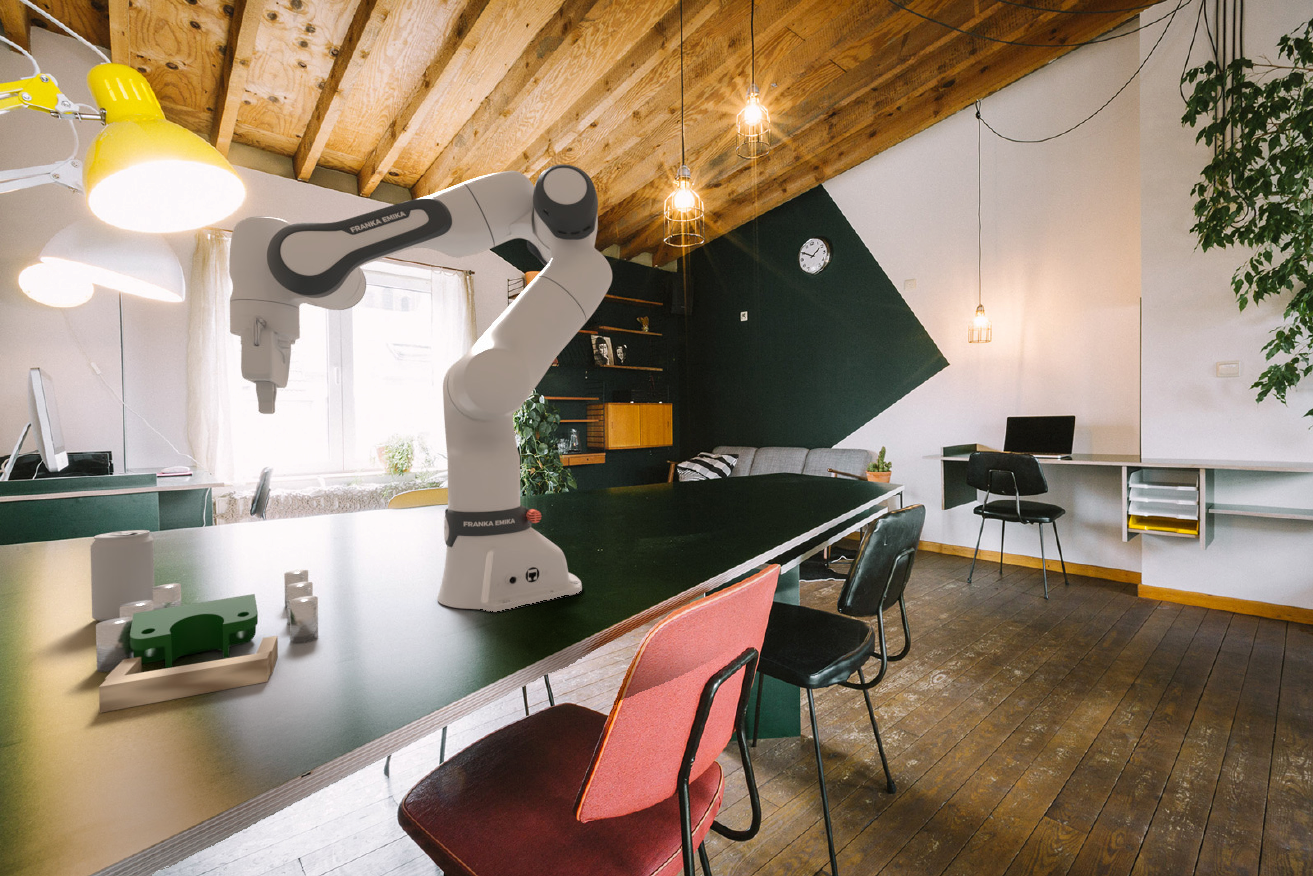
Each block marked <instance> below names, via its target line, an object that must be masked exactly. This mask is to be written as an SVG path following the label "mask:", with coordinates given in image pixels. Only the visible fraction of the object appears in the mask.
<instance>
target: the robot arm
mask: <svg viewBox="0 0 1313 876" xmlns="http://www.w3.org/2000/svg"><path fill="white" fill-rule="evenodd" d="M598 211H599V199H598V194H597V190H596V187H595V184H594V182H593V180H592V179H591V177H590V176H589V175H588V174H587V172H585V171H584V170H583V169H581V168H579V167H577V166H575V165H571V164H563V163H562V164H555V165H552V166H549V167H547V168H546V169H544V170H543V171H542V172H541V173H540V174H539V175H538V177H537V179H536V182H535V184H533V183H532V181H531V180H530V179H529V177H528V176H527V175H526V174H524V173H522V172H520V171H517V170H505V171H499V172H495V173H490V174H486V175H481V176H478V177H476V178H472V179H468V180H466V181H463V182H461V183H458V184H456V185H453V186H451V187H448V188H446V189H443V190H441V191H437V192H435V193H432V194H430V195H425V196H423V197H419V198H415V199H411V200H406V201H403V202H400V203H396V204H393V205H392V204H391V205H389V206H386V207H382V208H379V209H376V210H373V211H369V212H366V213H363V214H360V215H357V216H353V217H349V218H347V219H343V220H339V221H332V222H298V223H290V222H289V221H287V220H284V219H281V218H277V217H272V216H262V215H261V216H251V217H247V218H245V219H242V220H240V221H238V222H237V223H236V225H235V226H234V227H233V231H232V234H231V239H230V245H229V263H228V264H229V265H228V267H229V269H228V270H229V271H228V272H229V273H228V274H229V276H230V279H231V282H232V292H231V295H230V298H229V329H230V330H229V331H230V334H232V335H235V336H238V337H240V345H241V351H240V352H241V353H240V356H241V357H240V359H241V361H240V369H241V376H242V379H244V380H247V381H249V382H251V383H253V384H255V392H256V398H257V402H258V406H257V407H258V412H259V414H264V415H273V414H275V413H276V402H277V401H276V400H277V395H278V394H277V393H278V391H277V390H278V389H285V388H286V387H287V385H288V381H289V373H290V364H291V355H292V345H295V344H296V341H297V340H299V339H300V337H301V336H300V334H301V331H300V328H301V327H300V326H301V324H300V306H301V305H302V304H307V305H311V306H314V307H319V308H322V309H325V310H333V311H342V310H344V311H345V310H348V309H351V308H353V307H355V306H356V305H357V304H359V303H360V302H361V301H362V299H363V297H364V295H365V293H366V289H367V280H366V275H365V273H364V272H363V270H362V269H361V267H362V266H364V265H367V264H370V263H372V262H376V261H378V260H382V259H384V258H387V257H391V256H393V255H395V254H398V253H402V252H404V251H407V250H411V249H428V250H433V251H437V252H439V253H442V254H444V255H446V256H448V257H451V258H456V259H458V258H459V259H460V258H464V257H465V258H466V257H468V256H469V257H470V256H473V255H477V254H480V253H484V252H486V251H488V250H490V249H493V248H495V247H497V246H499V245H502V244H504V243H506V242H508V241H512V240H514V239H523V240H526V248H527V249H528V251H529V252H530V253H531V254H533V256H535V257H536V258H537V259H538V260H539V261H540V262H541V264H542V265H543V266H544V268H542V270H541V271H540V272H539V273H538V274H537V275H536V276H535V277H534V278H533V279H532V280H531V281H530V282H529V283H528V285H526V287H525V288H524V289H523V290H522V291H521V292H520V293H519V294H518V295H517V296H516V298H514V299H513V301H512V302H511V303H510V304H509V305H508V306H507V307H506V308H505V309H504V310H503V312H502V313H501V314H500V315H499V317H498V318H497V319H496V320H495V321H493V323H492V324H491V326H489V328H488V329H487V330H486V331H485V332H484V333H483V335H481V337H479V339H478V340H477V341H476V342H475V343H474V344H473V345H472V346H471V348H469V350H468V351H467V352H466V353H465V354H464V355H463V356H461V358H460V359H458V360H457V361H455V362H454V363H453V364H452V365H451V366H450V367H449V368H448V370H447V371H446V373H445V374H444V378H443V380H442V381H443V382H442V383H443V384H442V395H443V397H442V398H443V417H444V429H445V430H444V431H445V442H446V443H445V444H446V457H447V508H445V511H444V517H443V519H444V520H443V522H444V523H443V524H444V525H443V529H444V530H443V531H444V532H443V533H444V541H445V545H446V553H445V555H446V556H445V561H444V569H443V576H442V580H441V583H440V588H439V592H438V595H437V597H436V600H437V601H438V603H440V604H442V605H444V606H446V607H450V608H456V609H466V610H468V609H469V610H470V609H471V610H480V609H483V610H482V611H485V610H486V611H485V612H490V611H491V612H492V611H493V612H492V613H498V612H497V611H500V612H503V611H502V610H504V611H506V610H505V609H509V610H512V609H511V608H513V609H516V608H515V607H517V608H519V607H518V606H521V605H525V604H530V605H533V604H532V603H534V604H537V603H536V602H539V603H541V602H540V601H543V600H547V601H551V600H550V599H552V600H555V599H554V598H556V599H558V598H557V597H560V598H562V597H561V596H564V595H569V596H573V595H577V594H580V593H581V592H582V590H583V585H582V581H581V579H580V578H578V576H577V575H575V574H573V573H571V572H569V569H568V563H567V559H566V556H565V554H564V552H563V550H562V548H560V547H559V546H558V545H557V544H555V543H554V542H552V541H551V540H550V539H548V538H547V537H545V536H544V535H543V534H541V533H540V532H539V531H537V530H536V529H534V528H533V527H532V525H533V524H537V523H539V522H540V520H542V517H543V516H542V513H541V512H540V511H539V510H537V509H535V508H531V509H530V508H527V507H526V506H523V505H522V504H521V456H520V453H519V450H518V445H517V440H516V439H517V438H516V433H515V426H514V418H513V414H515V413H517V412H518V410H519V409H521V407H523V405H524V403H525V402H526V400H527V399H528V398H529V397H530V395H531V394H532V393H533V391H534V390H535V388H536V387H537V386H538V385H539V383H540V382H541V380H542V379H543V377H544V376H545V375H546V373H547V372H548V370H549V368H550V367H551V366H552V364H553V362H555V360H556V358H557V356H559V355H560V353H561V352H562V351H563V349H565V347H566V346H567V345H569V343H570V342H571V340H572V339H573V338H574V337H575V336H576V334H578V332H579V331H580V330H581V329H582V328H583V327H584V326H585V324H586V323H587V322H588V320H590V318H591V317H592V315H593V314H594V313H595V312H596V310H597V309H598V307H599V305H600V304H601V302H602V301H603V299H604V298H605V296H606V294H607V293H608V291H609V288H610V287H611V285H612V282H613V270H612V268H611V265H610V263H609V261H608V260H607V259H606V257H605V256H604V255H603V254H602V253H601V252H600V251H599V250H598V249H596V247H595V244H596V238H597V234H598V227H599V226H598V223H599V222H598V219H599V218H598V216H599V215H598ZM580 591H581V592H580ZM579 592H580V593H579ZM576 593H577V594H576ZM543 602H544V601H543ZM521 607H522V606H521Z"/></svg>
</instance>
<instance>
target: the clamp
mask: <svg viewBox="0 0 1313 876" xmlns="http://www.w3.org/2000/svg"><path fill="white" fill-rule="evenodd" d="M258 612H259V611H258V606H257V600H256V595H255V593H253V594H246V595H239V596H233V597H227V598H220V599H215V600H214V599H213V600H209V601H207V600H206V601H203V602H202V601H201V602H197V603H195V602H194V603H188V604H184V605H183V604H181V606H176V607H170V608H164V609H157V610H151V611H145V612H138V613H133V619H132V625H131V632H130V646H131V648H132V649H133V656H134V658H136V657H141V664H143V665H144V664H149V663H150V664H151V663H155V662H160V661H164V665H165V666H164V667H165V668H164V669H166V668H172V667H173V662H175V661H176V659H179V658H180V657H183V655H184V656H189V655H194V654H198V653H203V652H208V651H212V650H213V651H214V650H219V651H221V652H222V659H227V658H230V647H232V646H238V645H241V644H242V645H243V644H247V643H250V641H252V640H253V639H254V637H255V636H256V631H257V625H258V618H259V613H258ZM163 659H165V660H163Z"/></svg>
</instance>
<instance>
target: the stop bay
mask: <svg viewBox="0 0 1313 876" xmlns="http://www.w3.org/2000/svg"><path fill="white" fill-rule="evenodd" d="M278 638H279V637H278V635H273V636H268V637H267V636H266V637H263V638H262V639H261V641H260V644H259V645H258V648H257V651H256V653H252V654H246V655H240V656H233V657H228V658H222V659H216V660H210V661H204V662H197V663H191V664H185V665H180V666H174V667H173V666H172V668H166V669H165V668H161V669H155V670H154V669H153V670H149V671H144V672H143V671H142V663H141V657H136V658H130V659H124V660H123V661H122V662H121V663H120V664H119V665H118V666H117V667H116V668H115V669H114V670H113V671H110V672H109V674H108V675H107V676H105V678H104V681H103V682H102V683H101V684H100V685H99V686H98V695H99V696H98V698H99V701H98V702H99V703H98V705H99V714H101V713H107V712H111V711H118V710H122V709H123V710H124V709H129V708H132V707H133V708H134V707H139V706H144V705H151V704H154V703H155V704H156V703H161V702H165V701H170V700H176V699H182V698H187V697H193V696H197V695H203V694H207V693H208V694H209V693H213V692H218V691H225V690H230V689H236V688H239V687H245V686H250V685H256V684H261V683H266V682H268V681H269V678H270V676H271V675H272V674H273V672H274V669H275V666H276V664H277V660H278V655H279V652H278V651H279V650H278V649H279V647H278V641H279V639H278Z"/></svg>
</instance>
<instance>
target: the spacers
mask: <svg viewBox="0 0 1313 876" xmlns="http://www.w3.org/2000/svg"><path fill="white" fill-rule="evenodd" d="M283 575H284V608H285V609H286V612H287V613H286V614H287V615H286V619H287V620H286V621H287V622H286V623H287V624H288V623H289V642H290V643H291V644H303V643H307V642H308V643H309V642H311V641H314V640H316V639H317V638H319V618H318V617H319V608H318V607H319V605H318V604H319V603H318V602H319V600H318V599H319V598H318V596H315V595H313V593H314V592H313V591H314V589H313V585H314V584H313V582H312V581H309V570H308V569H297V570H290V571H286V572H285V573H284V574H283ZM176 606H182V584H181V583H166V584H161V585H157V586H154V587H153V588H152V601H150V600H145V601H136V602H131V603H127V604H124V605H121V606H120V618H116V619H111V620H107V621H103V622H100V621H99V622H98V623H96V625H95V634H96V635H95V636H96V637H95V640H96V641H95V642H96V671H97V672H101V673H102V672H103V673H104V672H105V673H106V672H112V671H113V670H114V669H115V668H116V667H117V666H118V665H119V664H120V663H121V662H122V661H123V660H124V659H130V658H134V656H133V649H132V648H131V646H130V632H131V625H132V619H133V613H138V612H145V611H151V610H157V609H164V608H170V607H176Z"/></svg>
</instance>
